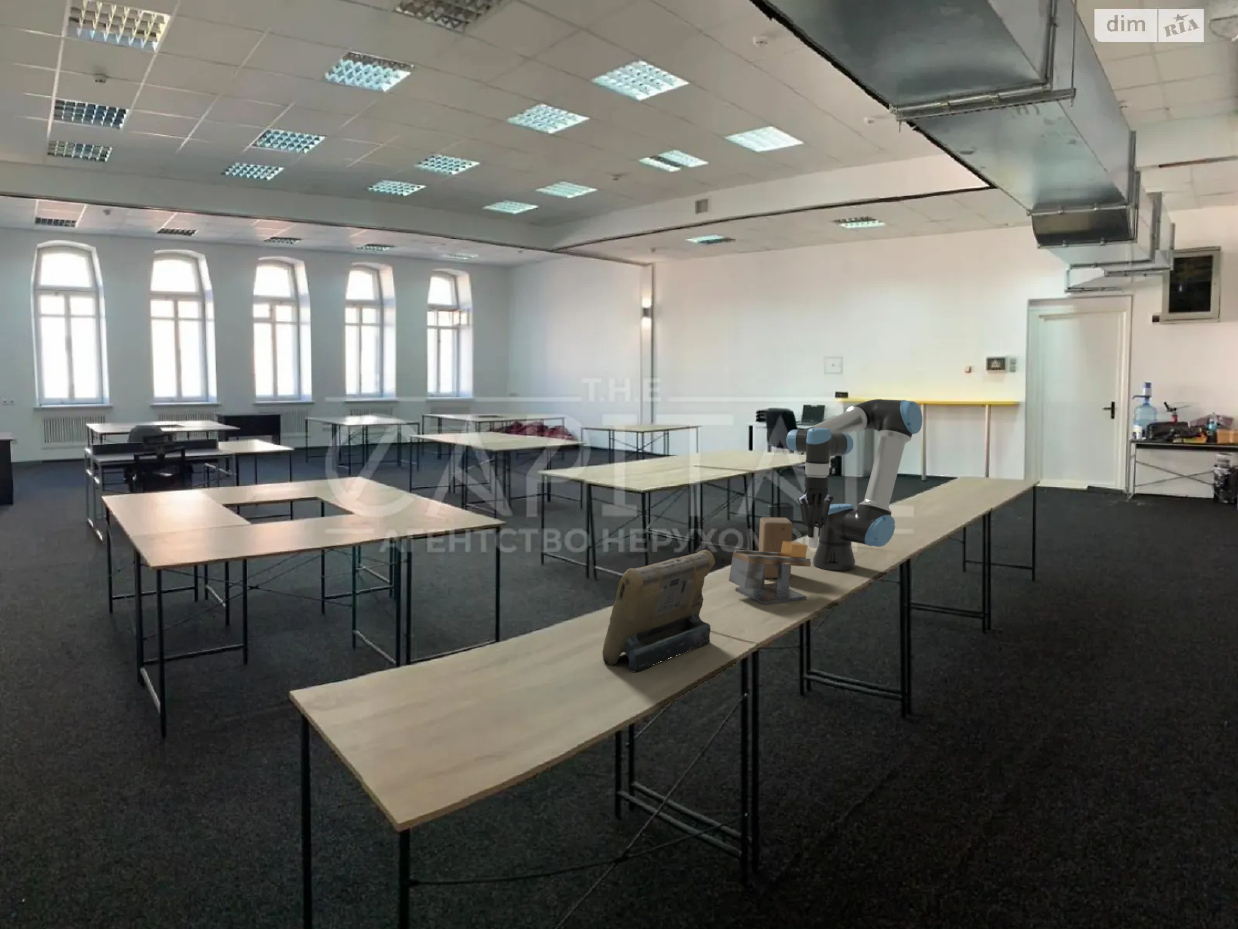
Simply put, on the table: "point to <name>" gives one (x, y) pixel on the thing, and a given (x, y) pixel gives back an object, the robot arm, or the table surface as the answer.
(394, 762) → the table surface
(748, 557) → the beam
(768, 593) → the pivot stand
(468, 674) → the table surface
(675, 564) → the tablet
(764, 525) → the wooden block
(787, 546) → the rider
